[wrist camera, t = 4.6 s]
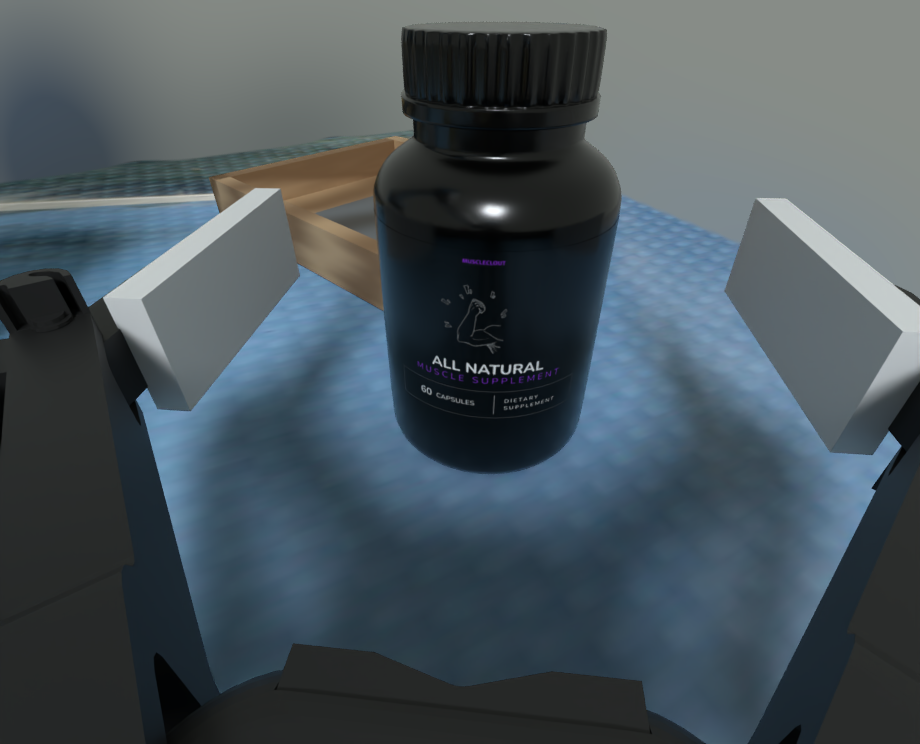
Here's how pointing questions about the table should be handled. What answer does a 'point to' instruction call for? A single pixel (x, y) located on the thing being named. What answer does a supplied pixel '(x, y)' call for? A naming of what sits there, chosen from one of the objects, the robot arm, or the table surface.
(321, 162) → the tray
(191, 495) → the table surface
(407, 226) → the supplement bottle
